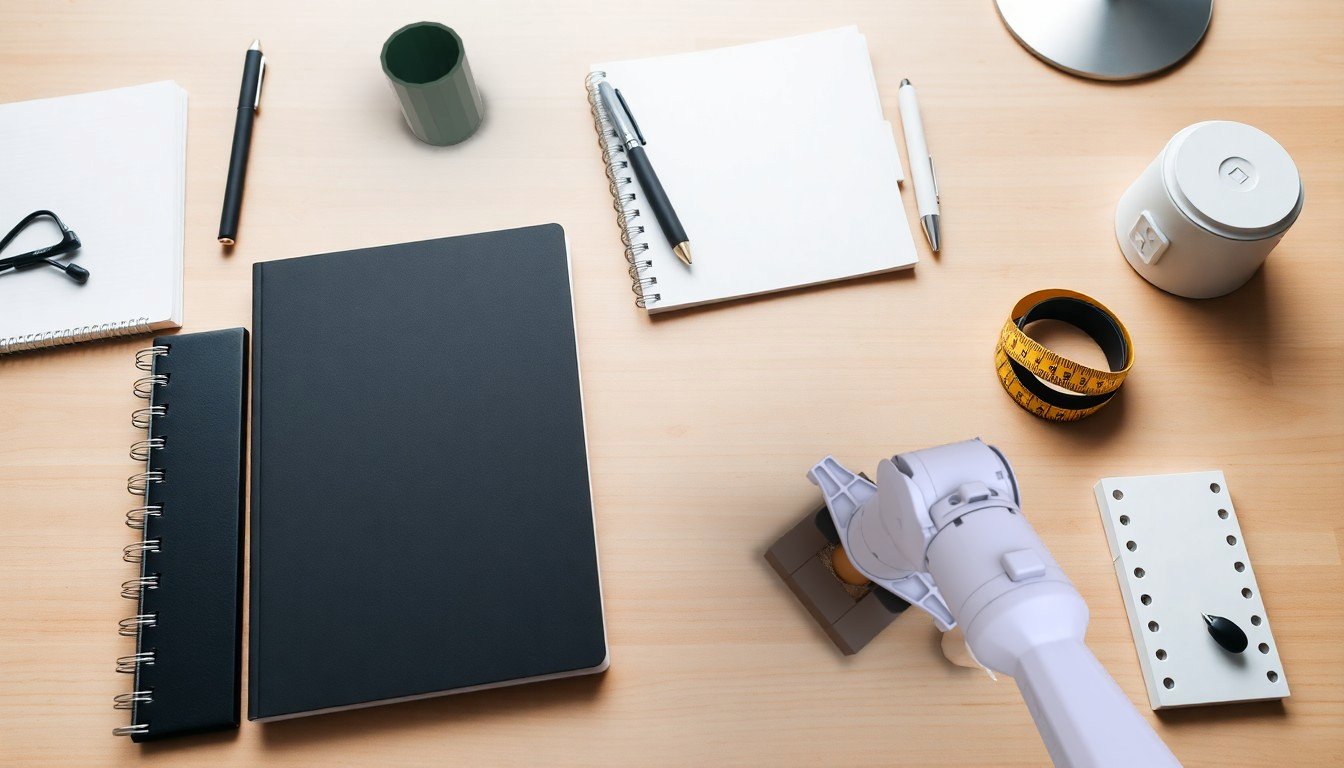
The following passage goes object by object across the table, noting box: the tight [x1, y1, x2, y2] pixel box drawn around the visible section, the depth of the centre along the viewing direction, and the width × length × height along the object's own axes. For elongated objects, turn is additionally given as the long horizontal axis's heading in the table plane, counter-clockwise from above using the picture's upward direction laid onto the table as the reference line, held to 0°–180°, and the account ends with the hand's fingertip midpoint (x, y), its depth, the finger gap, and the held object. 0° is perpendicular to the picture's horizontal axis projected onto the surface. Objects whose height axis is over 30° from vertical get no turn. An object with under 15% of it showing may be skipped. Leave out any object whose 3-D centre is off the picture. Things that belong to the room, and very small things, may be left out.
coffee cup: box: [379, 20, 484, 147], centre depth 84 cm, size 8×8×9 cm
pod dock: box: [763, 471, 904, 657], centre depth 70 cm, size 11×11×4 cm
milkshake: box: [940, 625, 998, 682], centre depth 65 cm, size 5×5×10 cm
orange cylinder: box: [830, 542, 872, 587], centre depth 66 cm, size 4×4×8 cm
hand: (860, 558), depth 68 cm, fingers closed on orange cylinder, 4 cm apart
